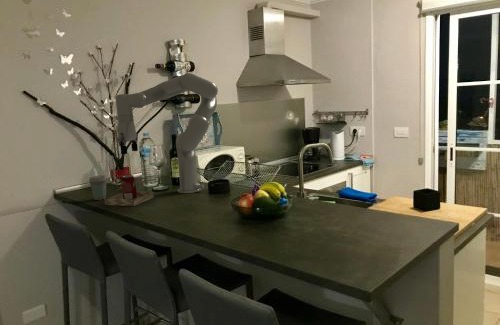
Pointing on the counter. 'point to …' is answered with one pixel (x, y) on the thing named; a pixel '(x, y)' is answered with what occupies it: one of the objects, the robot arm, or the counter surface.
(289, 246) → the counter surface
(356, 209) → the counter surface
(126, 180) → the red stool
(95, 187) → the coffee cup
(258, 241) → the counter surface
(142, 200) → the tray
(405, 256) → the counter surface
